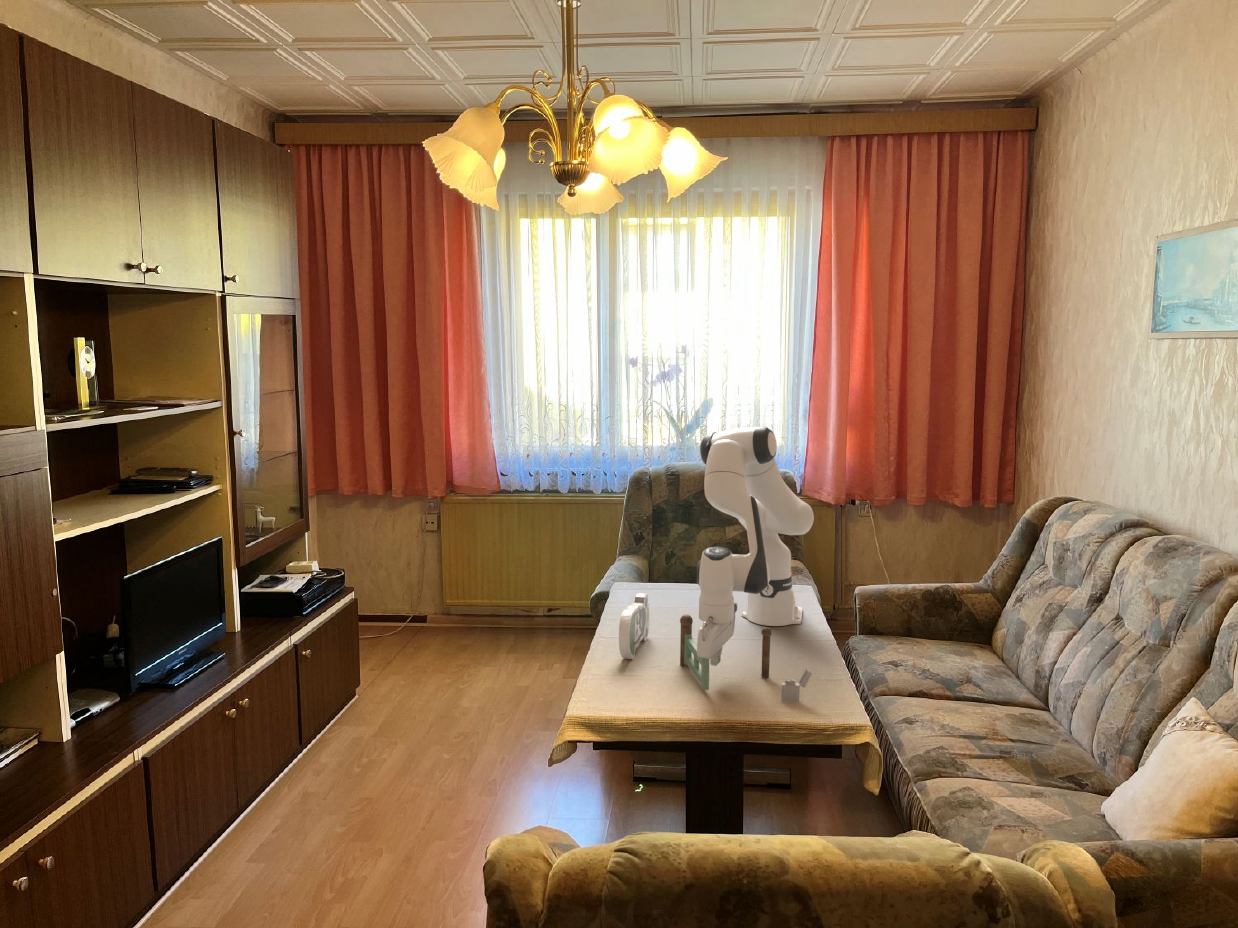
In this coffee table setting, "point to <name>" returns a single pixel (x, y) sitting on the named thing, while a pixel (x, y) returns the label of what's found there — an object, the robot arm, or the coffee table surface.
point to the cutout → (634, 626)
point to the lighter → (794, 688)
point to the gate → (696, 662)
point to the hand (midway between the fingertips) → (715, 663)
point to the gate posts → (766, 632)
